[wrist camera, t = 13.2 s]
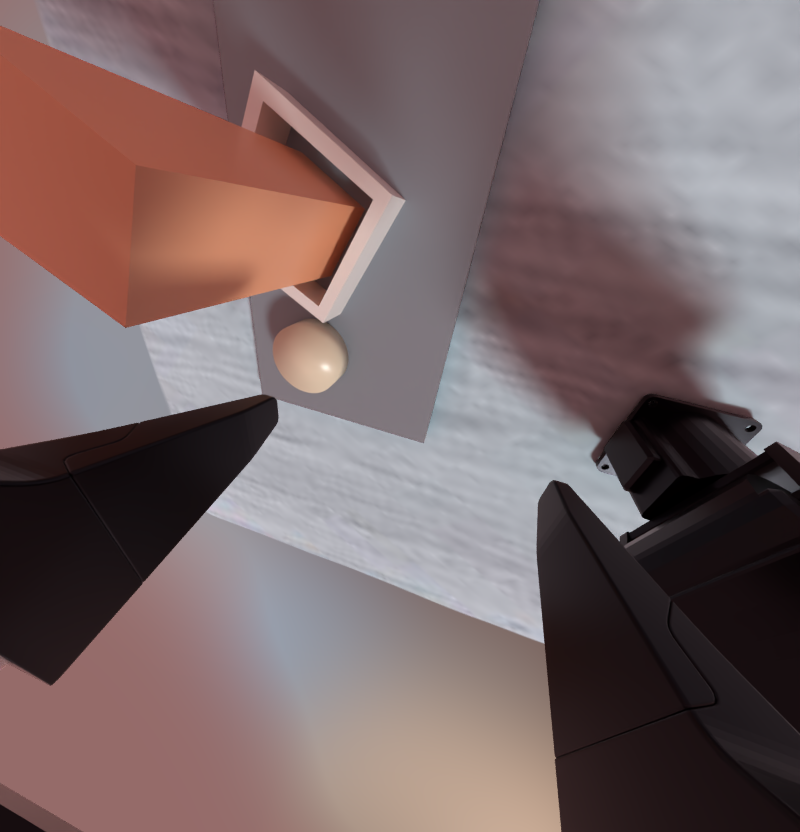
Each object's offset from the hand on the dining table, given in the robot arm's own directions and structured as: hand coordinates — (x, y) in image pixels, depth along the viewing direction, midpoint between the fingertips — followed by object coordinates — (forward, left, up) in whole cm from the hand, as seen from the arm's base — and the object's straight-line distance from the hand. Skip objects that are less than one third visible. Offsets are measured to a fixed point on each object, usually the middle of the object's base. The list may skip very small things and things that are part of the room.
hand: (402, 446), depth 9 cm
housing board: (+7, -5, -13) cm, 16 cm away
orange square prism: (+9, -5, -12) cm, 16 cm away
